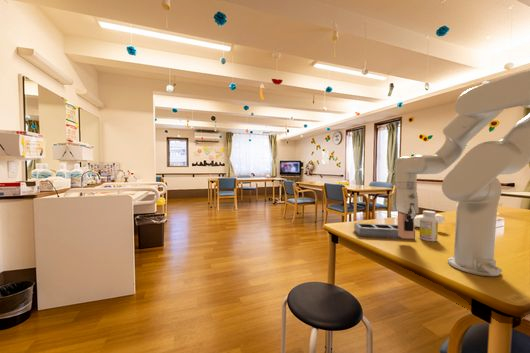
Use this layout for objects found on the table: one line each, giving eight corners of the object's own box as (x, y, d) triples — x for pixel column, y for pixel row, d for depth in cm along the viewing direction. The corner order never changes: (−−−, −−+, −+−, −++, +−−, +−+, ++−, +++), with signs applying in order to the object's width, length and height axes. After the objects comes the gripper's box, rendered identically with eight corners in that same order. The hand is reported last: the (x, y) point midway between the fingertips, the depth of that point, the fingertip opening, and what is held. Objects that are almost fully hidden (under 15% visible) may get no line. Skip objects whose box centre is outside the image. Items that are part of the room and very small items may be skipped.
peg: (414, 238, 92) (414, 214, 92) (402, 238, 93) (402, 214, 93) (408, 235, 97) (408, 212, 97) (397, 235, 97) (397, 212, 97)
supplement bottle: (431, 237, 105) (432, 210, 104) (440, 242, 98) (442, 213, 98) (416, 236, 106) (417, 209, 105) (424, 241, 99) (425, 212, 98)
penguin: (413, 233, 121) (445, 229, 110) (407, 218, 123) (438, 212, 112) (418, 230, 127) (450, 226, 116) (412, 216, 129) (443, 210, 118)
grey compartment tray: (414, 239, 102) (415, 230, 102) (359, 236, 105) (359, 228, 105) (404, 232, 112) (404, 225, 111) (354, 230, 115) (354, 222, 115)
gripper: (427, 187, 86) (426, 235, 86) (405, 185, 102) (405, 225, 103) (405, 187, 87) (405, 234, 87) (388, 185, 103) (388, 224, 104)
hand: (405, 228), depth 95 cm, fingers closed on peg, 4 cm apart
